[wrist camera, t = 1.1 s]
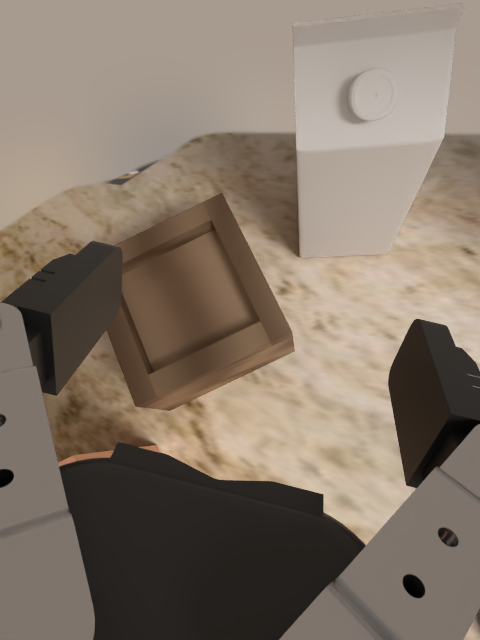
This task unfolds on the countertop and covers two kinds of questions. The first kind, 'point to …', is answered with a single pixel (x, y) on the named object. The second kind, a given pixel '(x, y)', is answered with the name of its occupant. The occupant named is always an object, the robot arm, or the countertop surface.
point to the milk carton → (367, 123)
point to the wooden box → (193, 309)
